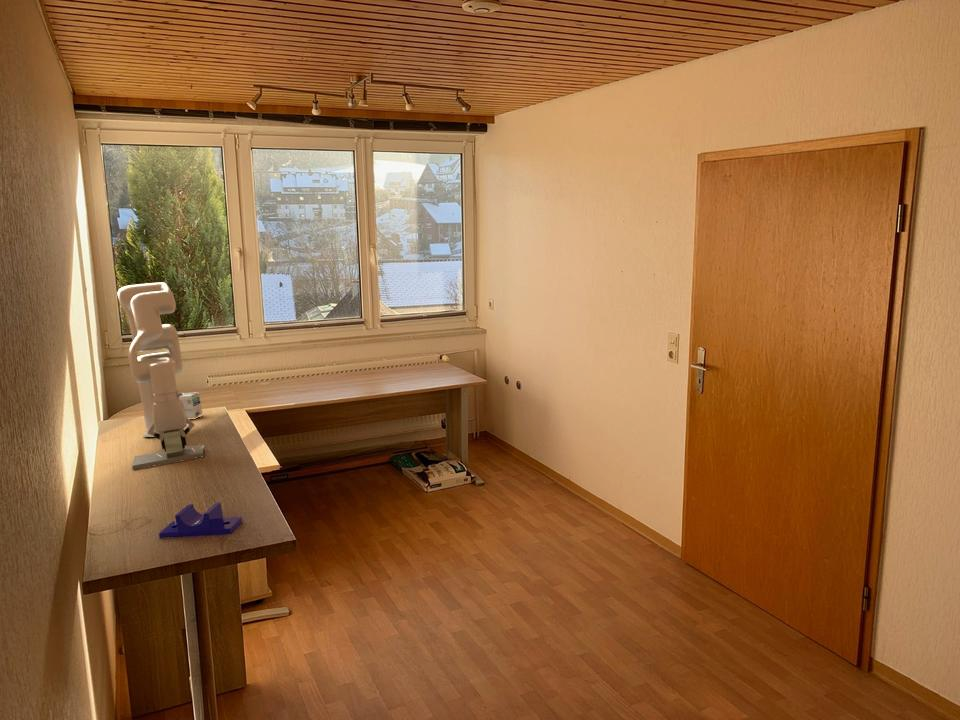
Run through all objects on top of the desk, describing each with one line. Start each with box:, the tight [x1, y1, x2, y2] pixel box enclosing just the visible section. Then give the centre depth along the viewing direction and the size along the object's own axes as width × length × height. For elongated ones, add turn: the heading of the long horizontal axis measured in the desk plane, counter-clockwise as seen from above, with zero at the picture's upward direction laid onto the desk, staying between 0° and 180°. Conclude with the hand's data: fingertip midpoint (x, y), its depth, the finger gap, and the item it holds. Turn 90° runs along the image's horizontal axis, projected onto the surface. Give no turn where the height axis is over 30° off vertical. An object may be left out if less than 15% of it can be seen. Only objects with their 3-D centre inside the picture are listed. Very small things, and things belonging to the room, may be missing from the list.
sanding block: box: [163, 429, 184, 458], centre depth 243 cm, size 9×5×8 cm, turn 22°
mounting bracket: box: [158, 502, 243, 539], centre depth 177 cm, size 18×7×6 cm, turn 87°
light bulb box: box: [179, 391, 203, 418], centre depth 300 cm, size 11×7×11 cm, turn 84°
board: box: [131, 444, 205, 471], centre depth 243 cm, size 12×23×2 cm, turn 112°
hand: (174, 448), depth 243 cm, fingers closed on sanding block, 5 cm apart
